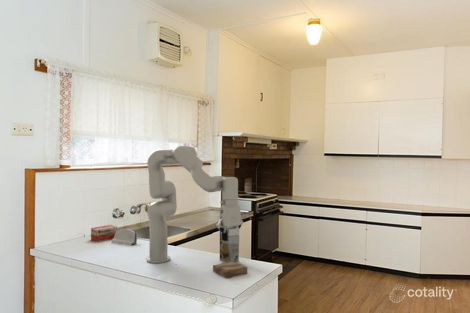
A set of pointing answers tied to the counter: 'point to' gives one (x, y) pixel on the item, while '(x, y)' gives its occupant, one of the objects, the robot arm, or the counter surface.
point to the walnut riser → (230, 269)
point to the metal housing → (231, 235)
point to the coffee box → (229, 251)
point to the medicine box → (103, 232)
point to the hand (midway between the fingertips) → (230, 239)
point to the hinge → (125, 237)
